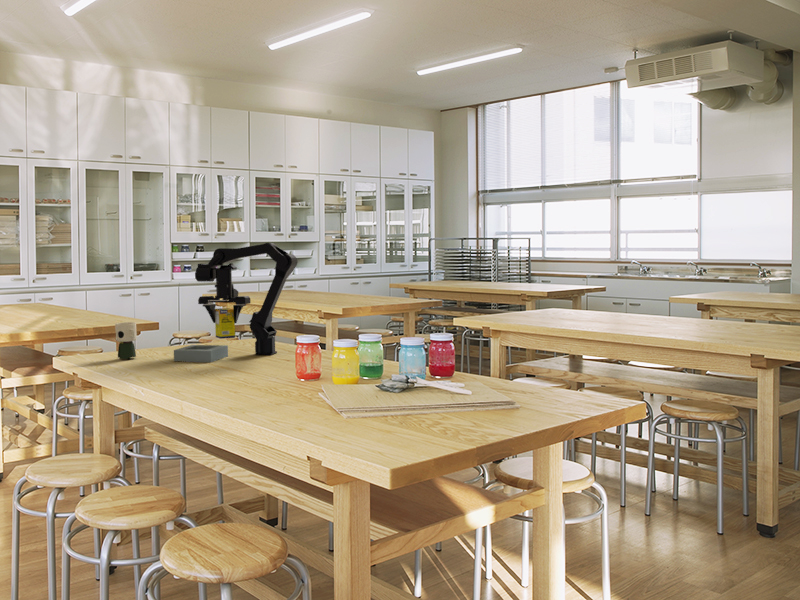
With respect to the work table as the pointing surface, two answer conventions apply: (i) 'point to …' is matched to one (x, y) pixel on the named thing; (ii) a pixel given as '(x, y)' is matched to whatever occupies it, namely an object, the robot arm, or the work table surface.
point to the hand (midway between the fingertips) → (225, 323)
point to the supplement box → (224, 323)
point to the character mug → (126, 339)
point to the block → (201, 353)
